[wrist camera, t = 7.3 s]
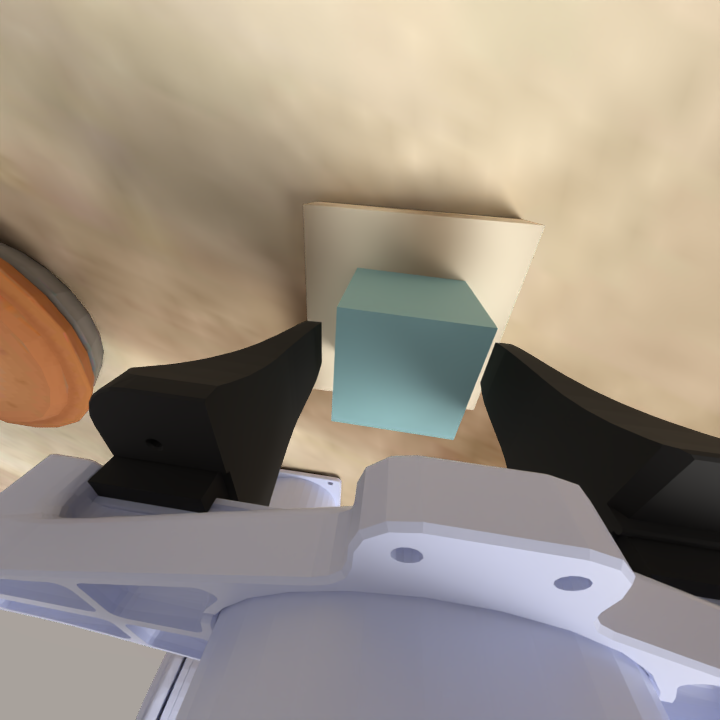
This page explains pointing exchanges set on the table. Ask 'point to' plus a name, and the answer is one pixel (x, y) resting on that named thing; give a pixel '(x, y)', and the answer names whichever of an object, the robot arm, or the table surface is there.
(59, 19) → the table surface
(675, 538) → the robot arm
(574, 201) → the table surface
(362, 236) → the birch base
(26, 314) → the pie
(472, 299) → the teal block
